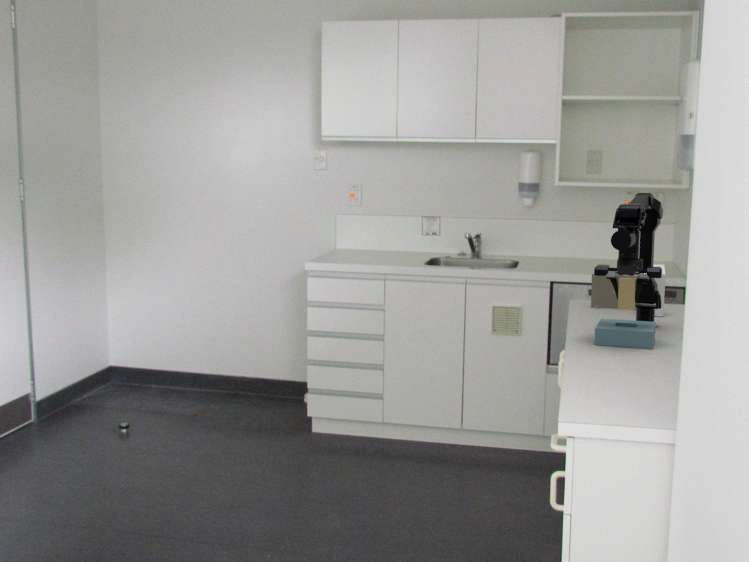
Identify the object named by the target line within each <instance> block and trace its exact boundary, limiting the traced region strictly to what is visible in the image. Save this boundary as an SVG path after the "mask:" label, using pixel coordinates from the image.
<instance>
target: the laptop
mask: <svg viewBox="0 0 749 562" xmlns="http://www.w3.org/2000/svg"><path fill="white" fill-rule="evenodd" d="M617 275H618V274H617ZM606 277H607V275H605V276H595V275H594V273H593V274H591V286H590V288H591V291H590V292H591V295H590V297H591V298H590V309H598V310H599V309H600V310H601V309H603V310H616V311H617V310H618V300H617V297H616V294H615V290H614V287H613V285H612V283H611V281H610V279H606ZM620 277H625V278H636V280H637V278H638V275H633V276H629V275H618V282H619V278H620ZM638 304H640V303H638ZM618 311H619V310H618ZM634 311H636V307H635V310H634Z"/></svg>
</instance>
